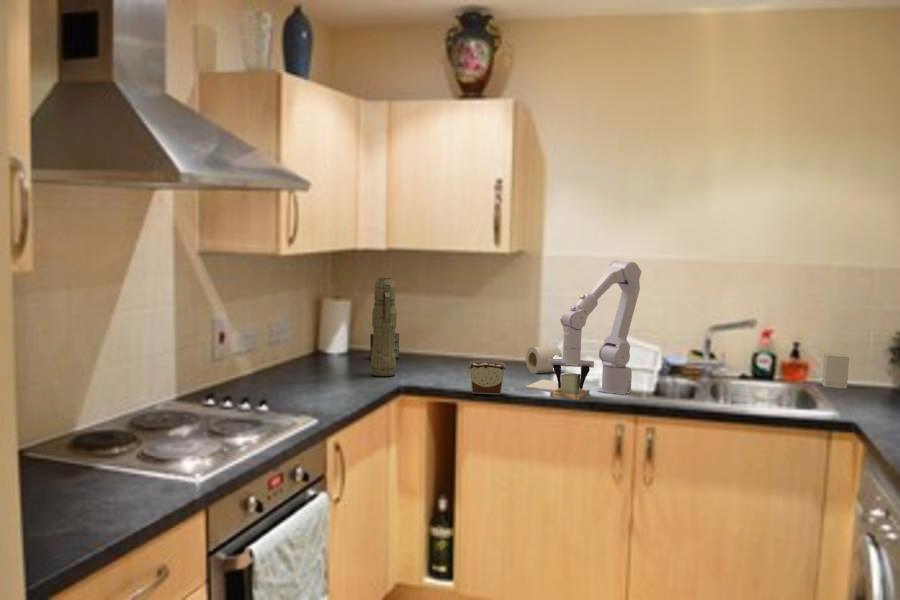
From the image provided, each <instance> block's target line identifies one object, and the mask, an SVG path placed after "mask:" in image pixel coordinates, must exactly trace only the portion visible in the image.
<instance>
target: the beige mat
mask: <svg viewBox="0 0 900 600" xmlns="http://www.w3.org/2000/svg"><path fill="white" fill-rule="evenodd" d="M554 381H555V380H549V379H540V380H537V381H535V382H533V383H530V384H528V385H526V386H525V390H533V391H539V392H548V393H550V392H552V391H554V390H556V389H558V385H557V384H556V383H555V382H554Z"/></svg>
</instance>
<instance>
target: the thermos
mask: <svg viewBox="0 0 900 600" xmlns="http://www.w3.org/2000/svg"><path fill="white" fill-rule="evenodd" d="M373 292H374V295H373V297H374V299H373V300H374V303H373V305H374V307H373V309H372V314H371V317H372V318H371V324H372V325H371V326H372V328H373V333H372V334H373V353H372V356H371V359H370V361H371V363H370V367H371V375H372V376H375V377H392V376H395V375H396V365H397V363H396V361H397V359H396V356H395V353H394V349H395V333H396V328H397V314H398V313H397V309H396V303H395V301H396V284H395V280H394V279H392V278H391V277H379V278H377V279H376V280H375V285H374V291H373Z"/></svg>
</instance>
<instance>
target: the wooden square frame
mask: <svg viewBox="0 0 900 600" xmlns="http://www.w3.org/2000/svg"><path fill="white" fill-rule="evenodd" d="M560 391H561V388H558V389H556V390H554V391H552V392H549V393H550V397H552V398H558V399H567V400H571V401H572V400H573V401H580V400H581V399H583V398H584V397H586V396H588V395H590V389H585V388H583V389H580V393H579V394H577V395H574V394H566V393H560Z"/></svg>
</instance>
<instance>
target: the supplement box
mask: <svg viewBox="0 0 900 600" xmlns="http://www.w3.org/2000/svg"><path fill="white" fill-rule="evenodd" d="M849 364H850V356H848V355H847V354H844V353H829V352H825V353H823V367H822V379H821V380H822V381H821V384H822V386H823V387H824V388H834V389H835V388H836V389H847V388H848V378H849Z"/></svg>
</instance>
